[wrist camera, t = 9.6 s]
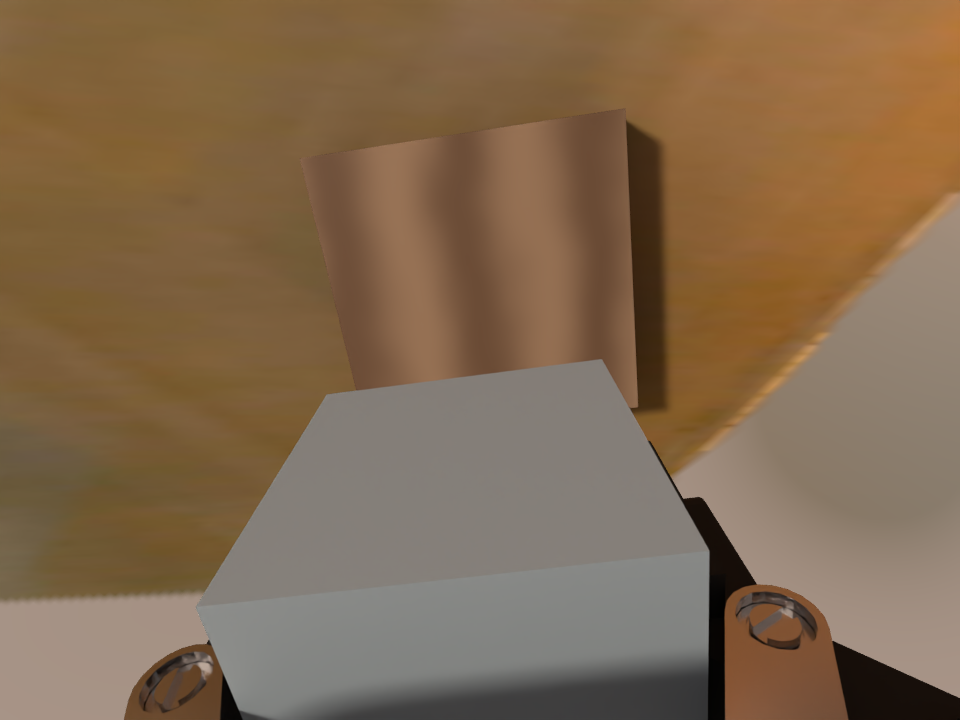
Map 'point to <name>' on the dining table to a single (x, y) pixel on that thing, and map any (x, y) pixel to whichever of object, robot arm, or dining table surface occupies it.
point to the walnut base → (481, 251)
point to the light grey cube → (468, 562)
